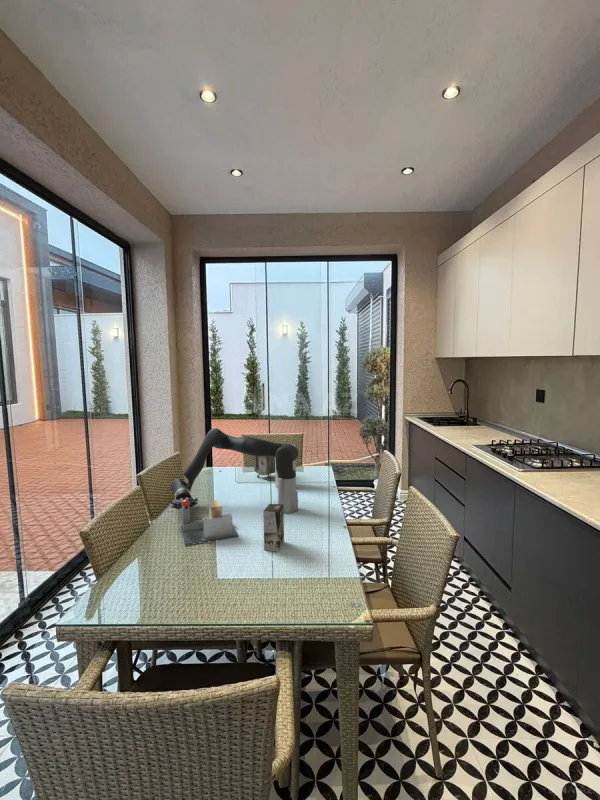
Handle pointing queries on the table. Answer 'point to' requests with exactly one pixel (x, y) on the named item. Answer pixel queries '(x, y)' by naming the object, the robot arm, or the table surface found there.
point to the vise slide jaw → (187, 523)
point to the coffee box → (273, 527)
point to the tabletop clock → (264, 465)
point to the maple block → (215, 508)
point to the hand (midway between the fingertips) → (185, 509)
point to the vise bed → (199, 536)
